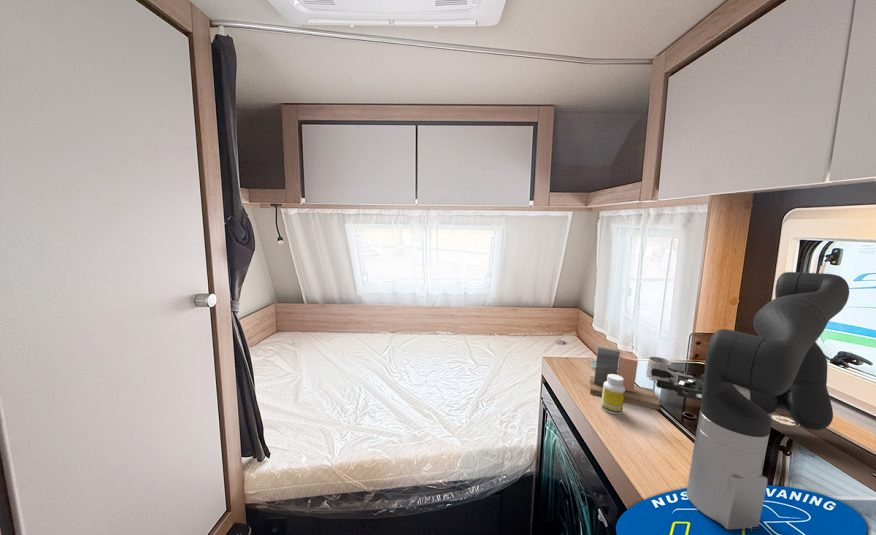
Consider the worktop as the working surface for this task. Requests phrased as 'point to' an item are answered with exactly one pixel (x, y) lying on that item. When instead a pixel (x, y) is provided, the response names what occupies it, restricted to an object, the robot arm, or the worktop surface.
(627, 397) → the stand
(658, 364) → the mug
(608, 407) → the supplement bottle
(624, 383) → the orange rectangular block
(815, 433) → the worktop surface
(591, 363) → the pacifier
